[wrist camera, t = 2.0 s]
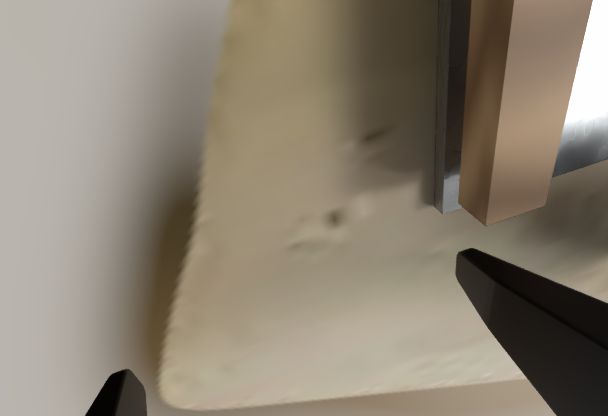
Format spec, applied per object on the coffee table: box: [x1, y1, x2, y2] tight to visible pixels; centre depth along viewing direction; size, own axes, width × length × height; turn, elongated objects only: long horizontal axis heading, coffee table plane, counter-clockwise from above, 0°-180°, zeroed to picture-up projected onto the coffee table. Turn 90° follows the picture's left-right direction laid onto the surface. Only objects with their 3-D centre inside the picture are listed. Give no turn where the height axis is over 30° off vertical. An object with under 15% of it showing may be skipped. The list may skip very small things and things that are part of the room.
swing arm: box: [458, 0, 593, 226], centre depth 13 cm, size 16×3×3 cm, turn 11°
